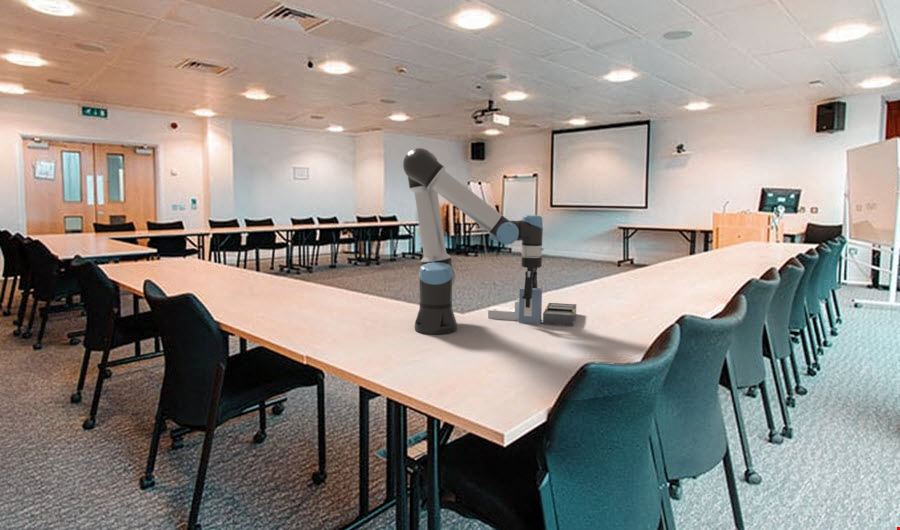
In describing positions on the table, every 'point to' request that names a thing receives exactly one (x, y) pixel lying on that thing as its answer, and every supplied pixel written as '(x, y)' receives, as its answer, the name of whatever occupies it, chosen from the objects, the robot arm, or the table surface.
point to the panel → (535, 307)
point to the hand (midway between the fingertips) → (530, 312)
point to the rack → (559, 314)
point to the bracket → (505, 312)
